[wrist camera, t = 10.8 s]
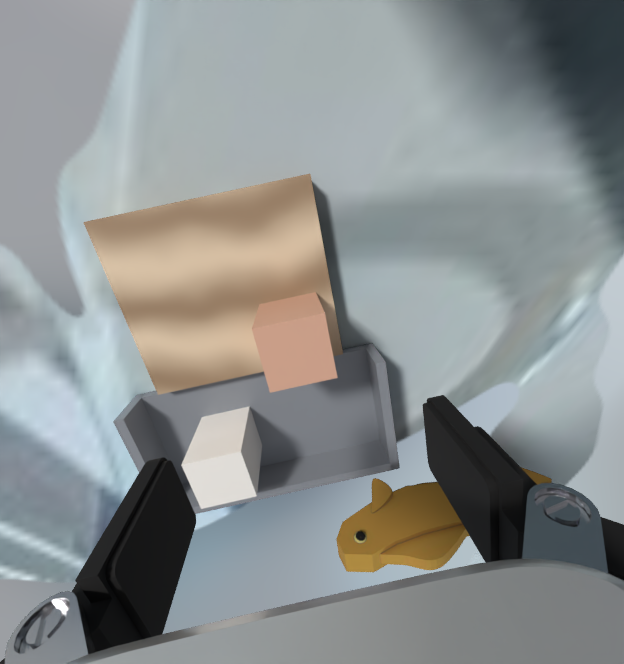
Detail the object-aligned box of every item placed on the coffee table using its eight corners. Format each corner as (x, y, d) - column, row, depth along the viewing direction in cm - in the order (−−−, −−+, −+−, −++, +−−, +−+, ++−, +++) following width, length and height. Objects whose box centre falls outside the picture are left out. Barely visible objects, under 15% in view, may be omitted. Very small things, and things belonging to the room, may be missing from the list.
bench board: (99, 222, 23) (83, 222, 21) (308, 177, 23) (310, 173, 21) (166, 383, 28) (158, 394, 26) (339, 345, 28) (343, 354, 26)
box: (136, 395, 28) (113, 421, 24) (372, 343, 28) (385, 361, 25) (178, 485, 32) (163, 520, 28) (386, 439, 32) (399, 468, 28)
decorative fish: (322, 518, 33) (366, 625, 24) (319, 496, 32) (363, 599, 23) (488, 452, 39) (574, 519, 30) (490, 432, 38) (580, 495, 29)
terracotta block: (259, 304, 24) (251, 329, 19) (315, 291, 24) (324, 313, 19) (273, 355, 26) (270, 392, 20) (326, 343, 26) (337, 377, 20)
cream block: (201, 417, 28) (181, 465, 23) (249, 406, 29) (240, 451, 23) (217, 455, 30) (201, 508, 24) (262, 445, 30) (256, 496, 24)
